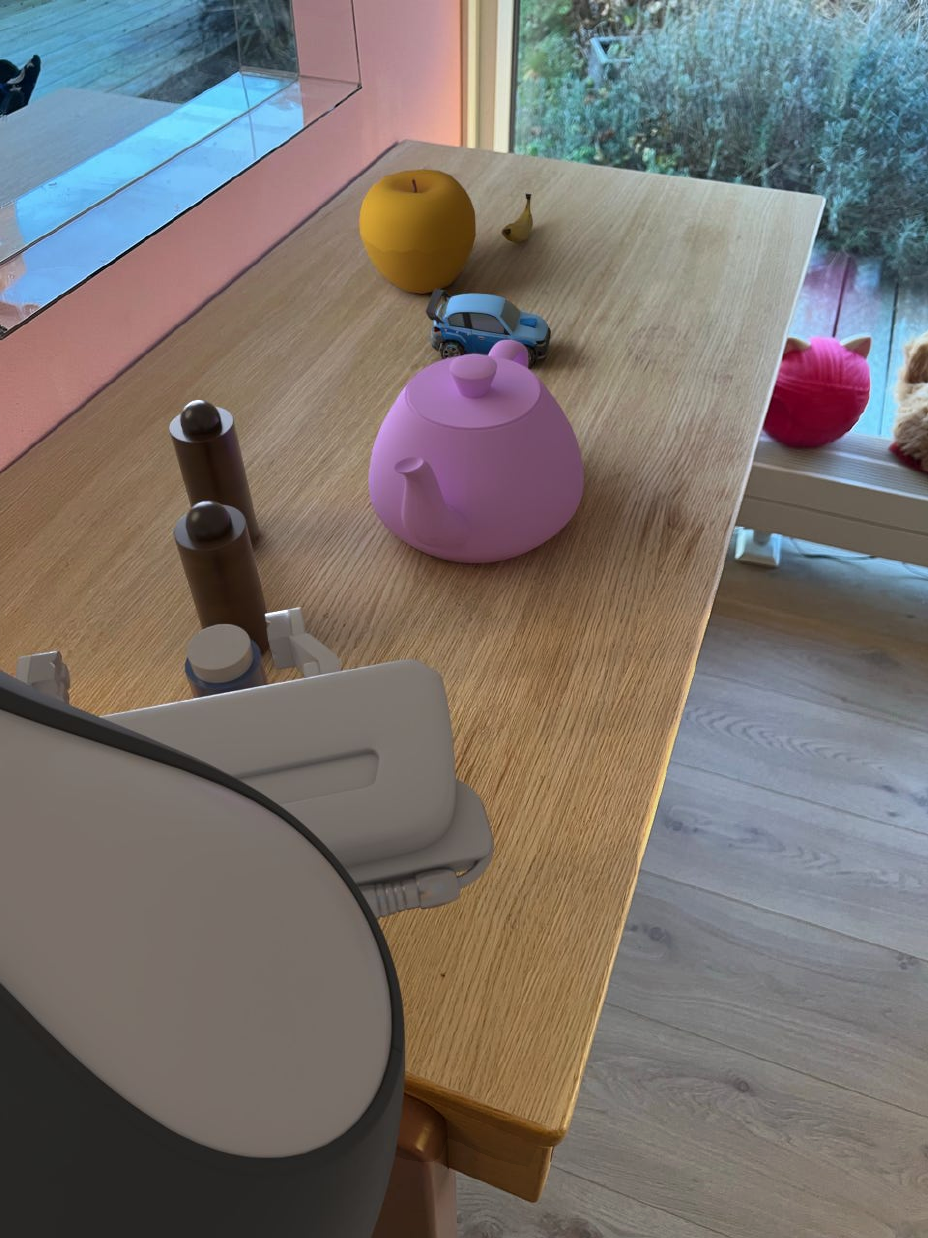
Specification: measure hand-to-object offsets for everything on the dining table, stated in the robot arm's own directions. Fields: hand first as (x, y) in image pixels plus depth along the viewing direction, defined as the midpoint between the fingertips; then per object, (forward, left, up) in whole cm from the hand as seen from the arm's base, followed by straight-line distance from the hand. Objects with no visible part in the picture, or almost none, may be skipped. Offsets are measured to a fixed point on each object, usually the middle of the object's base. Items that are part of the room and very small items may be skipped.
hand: (167, 641), depth 40 cm
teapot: (-7, +39, -25) cm, 47 cm away
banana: (-25, +87, -25) cm, 94 cm away
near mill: (-16, +19, -25) cm, 35 cm away
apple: (-31, +74, -25) cm, 84 cm away
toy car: (-17, +63, -25) cm, 70 cm away
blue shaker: (-8, +9, -25) cm, 28 cm away
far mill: (-24, +28, -25) cm, 45 cm away
